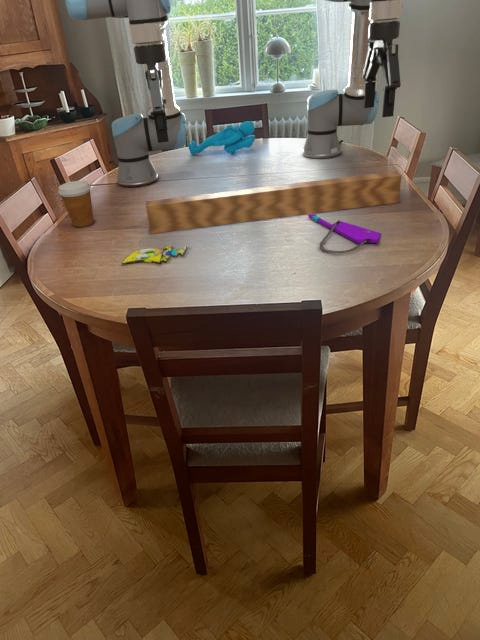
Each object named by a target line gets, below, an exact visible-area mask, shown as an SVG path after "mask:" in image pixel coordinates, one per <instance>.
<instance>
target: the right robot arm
mask: <svg viewBox="0 0 480 640" xmlns="http://www.w3.org/2000/svg"><path fill="white" fill-rule="evenodd" d="M325 1H327V2H332V3H348V9H349V10H350V11H351V12H352V19H351V20H352V21H351V22H352V24H351V37H350V38H351V40H350V52H349V53H350V56H349V71H348V84H347V85H346V86H345V87H344V88H343V93H339V91H338V89H326V90H322V91H318V92H315V93H312V94H311V95H310V96H309V97H308V98H307V106H306V111H307V119H306V120H307V121H306V122H307V125H306V127H307V128H306V129H307V131H306V133H307V135H306V139H305V142H304V144H303V148H302V155H303V156H304V157H305V158H307V159H315V160H316V159H319V160H321V159H322V160H323V159H331V158H334V157H337V156H340V155H341V152H342V148H341V144H342V143H343V142H344V140H343V139H341V140H339V137H338V127H347V126H348V127H351V126H352V127H353V126H364V125H371V124H373V122H374V121H375V119H376V116H377V114H378V110H379V103H380V92H379V91H377V88H376V82H377V74H378V72H379V69H380V67H381V70H382V75H383V79H384V84H385V86H384V87H383V99H382V101H383V103H382V112H381V113H382V115H381V117H382V118H389V117H394V112H395V111H394V110H395V102H396V101H395V99H396V90H397V89H398V88H401V72H400V61H399V44H393V40H396V39H398V38H399V37H400V29H401V22H400V20H399V19H400V18H401V15H402V8H403V7H404V4H403V0H325Z"/></svg>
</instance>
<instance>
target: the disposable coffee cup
mask: <svg viewBox="0 0 480 640" xmlns="http://www.w3.org/2000/svg"><path fill="white" fill-rule="evenodd" d="M58 195H59V196H60V197H61V199H62V201H63V203H64V206H65V208H66V211H67V213H68V215H69V218H70V221H71V223H72V225H73V227H78V228H80V227H81V228H82V227H87V226H90V225H92V224H93V223H94V221H95V220H94V213H93V211H94V210H93V203H92V196H91V195H92V194H91V185H90V184H89V182H88V181H86V180H73V181H69V182H65V183H62V184H61V185H59V186H58Z"/></svg>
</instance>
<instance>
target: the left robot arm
mask: <svg viewBox="0 0 480 640" xmlns="http://www.w3.org/2000/svg"><path fill="white" fill-rule="evenodd" d="M64 3H65V6H66V10H67V13H68V15H69V17H70V19H71V20H73V21H88V20H97V19H98V20H99V19H107V18H113V19H128V24H129V25H128V27H129V31H130V37H131V43H132V45H135V46H134V48H133V52H134V53H133V54H134V58H135V63H136V64H138V65H143V67H144V75H145V76H144V77H145V80H146V85H147V91H148V96H149V102H150V108H149V110H147V114H148V117H144V116H143V114H142V113H132V114H128V115H125V116H122V117H119V118H116V119H114V120H113V121H112V122H111V132H112V138H113V141H114V146H115V151H116V155H117V160H118V162H115V161H114V160H110V161H109V164H108V165H111V164H112V163H113V164H114V165H115V166H116V167H117V168H118V170H117V183H118V186H120V187H123V188H124V187H125V188H136V187H137V188H138V187H145V186H147V185H148V186H149V185H151V184H154V183H156V182H157V181H158V180H159V176H158V172H157V169H156V168H155V166H154V163H153V161H152V159H151V156H150V152H158V151H159V152H160V151H167V150H176V149H180V148H183V147H184V146H185V145H186V141H187V137H186V136H187V134H186V133H187V127H186V114H185V113H183V112H181V108H180V107H179V106H178V105H177V104H176V100H175V94H174V87H173V85H174V84H173V78H172V73H171V72H172V71H171V65H170V64H171V63H170V57H169V51H168V50H169V49H168V43H167V42H168V41H167V36H166V25H167V24H168V22H169V15H170V14H172V8H171V2H170V0H64Z"/></svg>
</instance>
